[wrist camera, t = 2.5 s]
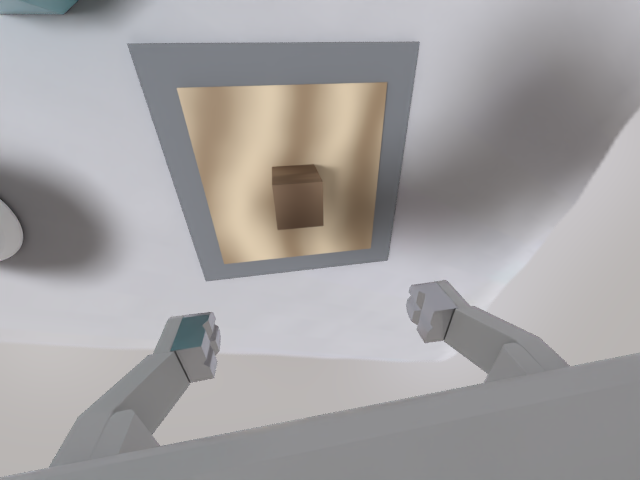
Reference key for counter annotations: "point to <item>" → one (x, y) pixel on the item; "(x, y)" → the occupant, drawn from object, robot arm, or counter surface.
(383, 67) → the mat
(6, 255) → the jar
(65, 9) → the bowl
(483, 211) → the counter surface
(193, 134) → the lid
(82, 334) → the counter surface
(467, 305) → the robot arm
